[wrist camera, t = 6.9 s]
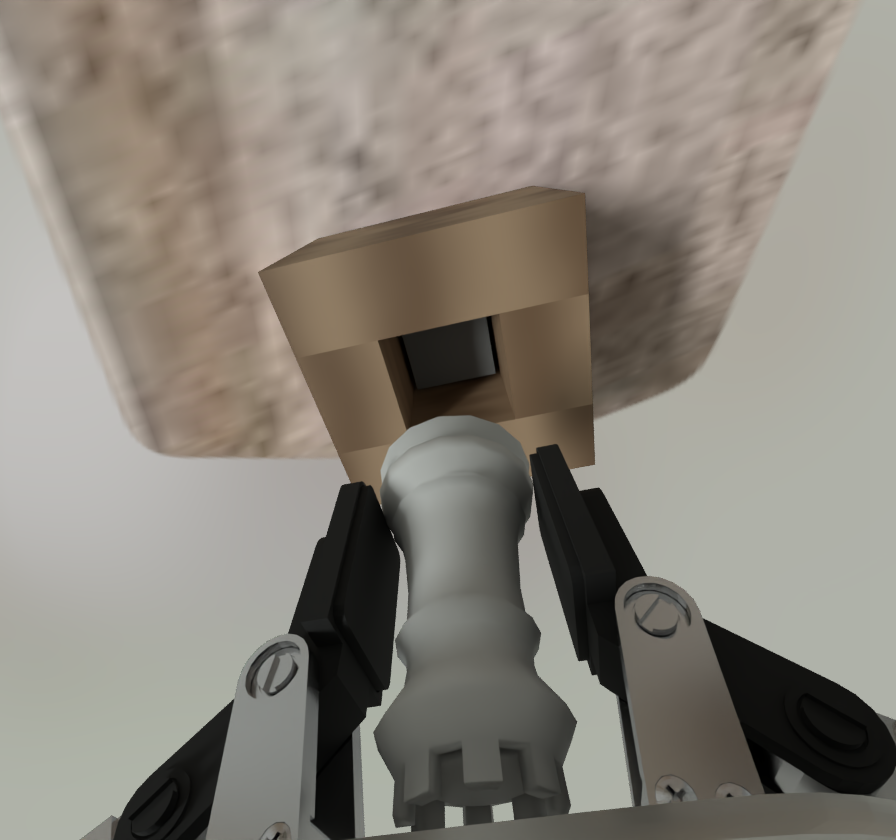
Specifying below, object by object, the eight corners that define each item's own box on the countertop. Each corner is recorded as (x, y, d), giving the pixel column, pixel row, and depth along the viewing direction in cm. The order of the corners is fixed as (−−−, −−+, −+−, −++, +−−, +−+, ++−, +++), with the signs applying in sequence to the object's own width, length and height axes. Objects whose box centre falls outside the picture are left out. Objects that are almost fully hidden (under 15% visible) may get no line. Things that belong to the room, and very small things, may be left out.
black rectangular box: (480, 288, 21) (482, 293, 20) (493, 366, 23) (495, 373, 22) (397, 307, 21) (395, 313, 21) (418, 381, 24) (417, 389, 23)
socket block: (531, 186, 22) (585, 193, 14) (550, 384, 28) (595, 464, 20) (317, 238, 23) (257, 272, 15) (381, 418, 29) (361, 507, 21)
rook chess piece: (389, 395, 11) (323, 738, 4) (544, 416, 12) (701, 752, 5) (375, 514, 14) (318, 864, 7) (506, 528, 14) (578, 865, 7)
